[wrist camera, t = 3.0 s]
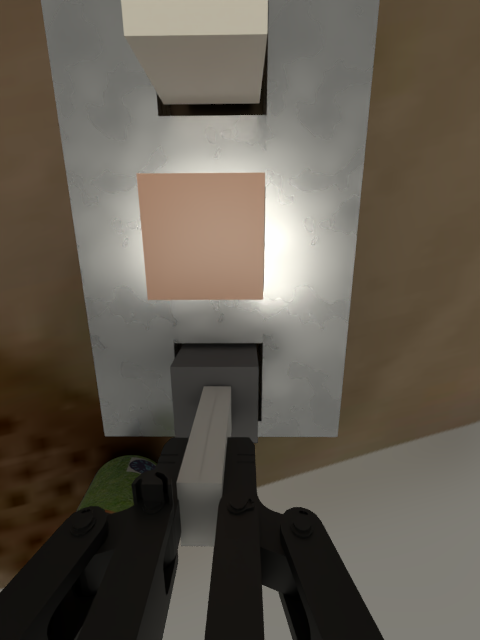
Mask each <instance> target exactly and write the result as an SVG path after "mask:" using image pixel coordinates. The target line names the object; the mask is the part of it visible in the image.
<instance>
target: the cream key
mask: <svg viewBox="0 0 480 640" xmlns="http://www.w3.org/2000/svg"><path fill="white" fill-rule="evenodd" d="M121 6H122V17H123V28H124V37H125V38H126V40H127V42H128V44H129V45H130V47H131V49H132V50H133V52H134V54H135V56H136V57H137V59H138V61H139V63H140V64H141V66H142V68H143V69H144V71H145V73H146V75H147V76H148V78H149V80H150V82H151V83H152V85H153V87H154V88H155V90H156V92H157V94H158V95H159V97H160V99H161V101H162V102H163V104H250V103H259V102H260V94H261V85H262V77H263V68H264V59H265V51H266V42H267V31H268V0H121Z"/></svg>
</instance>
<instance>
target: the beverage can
mask: <svg viewBox="0 0 480 640" xmlns="http://www.w3.org/2000/svg"><path fill="white" fill-rule="evenodd" d="M156 465H157V463H155V462H154V461H152V460H150V459H148V458H146V457H142V456H137V455H127V456H121V457H117V458H115V459H113V460H111V461H109V462H107V463H106V464H105V465H103V466H102V467H101V468H100V469H99V471H98V472H97V473H96V475H95V477H94V479H93V481H92V482H91V484H90V486H89V488H88V490H87V492H86V494H85V496H84V497H83V499H82V501H81V503H80V505H79V507H78V509H77V511H78V510H80V509H82V508H85V507H89V506H99V507H101V508H103V509H104V510H105V512H106V514H107V515H108V514H112V513H115V512H119V511H122V510H125V509H128V508H130V507H131V506H133V505H134V502H133V494H132V486H131V484H132V483H133V481H134V480H135V478H137V477H138V476H139V475H140V474H142V473H144V472H146V471H149V470H155V467H156ZM77 511H76V512H77Z"/></svg>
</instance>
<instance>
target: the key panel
mask: <svg viewBox="0 0 480 640" xmlns="http://www.w3.org/2000/svg"><path fill="white" fill-rule="evenodd" d="M41 4H42V11H43V18H44V25H45V32H46V38H47V45H48V52H49V59H50V66H51V72H52V79H53V86H54V93H55V100H56V106H57V113H58V120H59V127H60V134H61V141H62V147H63V154H64V161H65V168H66V175H67V181H68V188H69V195H70V202H71V209H72V215H73V222H74V229H75V236H76V243H77V250H78V256H79V263H80V270H81V277H82V284H83V290H84V297H85V304H86V311H87V318H88V324H89V331H90V338H91V345H92V352H93V358H94V365H95V372H96V379H97V386H98V393H99V399H100V406H101V413H102V420H103V427H104V433H105V436H175V429H174V415H173V402H172V388H171V374H170V366H171V364H172V363H173V361H174V359H175V357H176V356H177V354H178V352H179V351H180V349H181V347H182V345H183V344H184V343H260V380H259V398H258V437H337V436H338V425H339V415H340V405H341V394H342V384H343V374H344V363H345V353H346V342H347V332H348V322H349V311H350V301H351V291H352V280H353V270H354V259H355V249H356V239H357V228H358V218H359V208H360V197H361V187H362V176H363V166H364V156H365V145H366V135H367V125H368V114H369V104H370V93H371V83H372V73H373V62H374V52H375V42H376V31H377V21H378V10H379V0H268V31H267V42H266V51H265V59H264V95H263V115H223V116H171V112H170V104H163V102H162V101H161V99H160V97H159V95H158V94H157V92H156V90H155V88H154V87H153V85H152V83H151V82H150V80H149V78H148V76H147V75H146V73H145V71H144V69H143V68H142V66H141V64H140V63H139V61H138V59H137V57H136V56H135V54H134V52H133V50H132V49H131V47H130V45H129V44H128V42H127V40H126V38H125V37H124V28H123V17H122V6H121V0H41ZM264 172H265V215H264V276H263V300H148V297H147V286H146V275H145V264H144V252H143V241H142V230H141V219H140V208H139V196H138V185H137V174H136V173H264Z"/></svg>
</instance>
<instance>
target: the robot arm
mask: <svg viewBox="0 0 480 640" xmlns="http://www.w3.org/2000/svg"><path fill="white" fill-rule="evenodd" d="M231 431H232V424H231V386H204V388H203V391H202V395H201V398H200V402H199V405H198V409H197V412H196V416H195V419H194V423H193V426H192V430H191V433H190V437H189V438H175V437H172V438H171V439H170V440H169V441H168V442H167V443H166V444H165V445H164V447H163V450H162V452H161V456H160V457H159V460H158V464H157V465H156V467H155V470H149V471H146V472H144V473H142V474H140V475H139V476H138V477H137V478H135V480H134V481H133V483H132V484H131V486H132V494H133V502H134V505H133V506H131V507H130V508H128V509H125V510H122V511H119V512H115V513H112V514H108V515H107V514H106V512H105V510H104V509H103V508H101V507H99V506H89V507H85V508H82V509H80V510H78V511H77V512H75V513H73V514H72V515H71V516H70V517H69V518H68V519H66V521H65V522H64V523H63V524H62V525H61V526H60V527H59V528H58V529H57V530H56V532H55V533H54V534H53V535H52V536H51V537H50V538H49V539H48V540H47V542H46V543H45V544H44V545H43V546H42V547H41V548H40V549H39V550H38V551H37V553H36V554H35V555H34V556H33V557H32V558H31V559H30V560H29V561H28V563H27V564H26V565H25V566H24V567H23V568H22V569H21V570H20V571H19V572H18V574H17V575H16V576H15V577H14V578H13V579H12V580H11V581H10V582H9V584H8V585H7V586H6V587H5V588H4V589H3V590H2V591H1V592H0V640H162V638H163V633H164V628H165V623H166V618H167V613H168V609H169V604H170V599H171V594H172V589H173V584H174V579H175V574H176V570H177V565H178V550H177V549H178V545H179V540H180V537H181V546H214V554H213V563H212V572H211V582H210V592H209V601H208V611H207V621H206V630H205V640H264V621H263V601H262V585H264V586H267V587H269V588H271V589H274V590H276V591H279V596H280V599H281V602H282V605H283V609H284V612H285V615H286V619H287V622H288V625H289V629H290V632H291V635H292V639H293V640H384V639H383V637H382V635H381V633H380V631H379V629H378V627H377V625H376V623H375V622H374V620H373V618H372V616H371V614H370V612H369V610H368V608H367V607H366V605H365V603H364V601H363V599H362V597H361V595H360V593H359V592H358V590H357V588H356V586H355V584H354V582H353V580H352V578H351V577H350V575H349V573H348V571H347V569H346V567H345V565H344V563H343V561H342V560H341V558H340V556H339V554H338V552H337V550H336V548H335V546H334V544H333V543H332V541H331V539H330V537H329V535H328V534H327V532H326V529H325V528H324V526H323V524H322V522H321V520H320V519H319V518H318V517H317V515H316V514H314V513H313V512H311V511H310V510H308V509H305V508H302V507H293V508H291V509H289V510H286V512H285V513H284V514H280V513H277V512H274V511H272V510H270V509H268V508H266V507H265V506H264V505H263V504H262V503H261V502H260V500H259V498H258V496H257V488H256V466H255V445H254V443H253V442H252V440H251V439H250V437H231Z"/></svg>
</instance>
